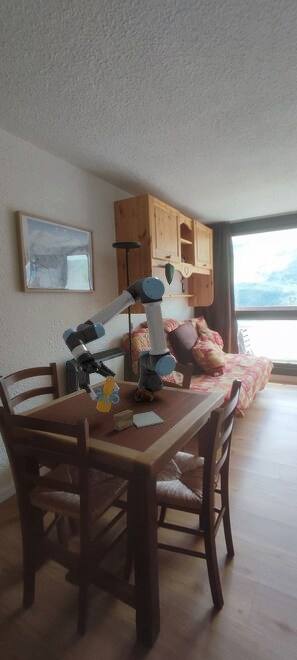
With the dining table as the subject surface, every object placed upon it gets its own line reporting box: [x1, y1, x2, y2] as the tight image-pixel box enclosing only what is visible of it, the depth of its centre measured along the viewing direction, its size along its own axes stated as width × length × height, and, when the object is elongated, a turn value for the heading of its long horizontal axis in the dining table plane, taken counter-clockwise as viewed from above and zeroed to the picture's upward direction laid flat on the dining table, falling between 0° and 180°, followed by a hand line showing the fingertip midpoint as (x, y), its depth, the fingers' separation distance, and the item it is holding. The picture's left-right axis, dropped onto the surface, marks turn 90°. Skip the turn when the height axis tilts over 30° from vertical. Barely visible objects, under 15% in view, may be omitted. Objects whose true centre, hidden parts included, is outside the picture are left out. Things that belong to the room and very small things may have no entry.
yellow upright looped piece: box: [93, 376, 120, 413], centre depth 130 cm, size 12×10×15 cm
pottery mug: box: [134, 386, 155, 402], centre depth 156 cm, size 12×10×8 cm
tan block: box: [113, 409, 135, 432], centre depth 124 cm, size 3×8×6 cm, turn 137°
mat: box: [133, 411, 165, 429], centre depth 131 cm, size 12×13×1 cm
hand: (106, 394), depth 130 cm, fingers closed on yellow upright looped piece, 12 cm apart
